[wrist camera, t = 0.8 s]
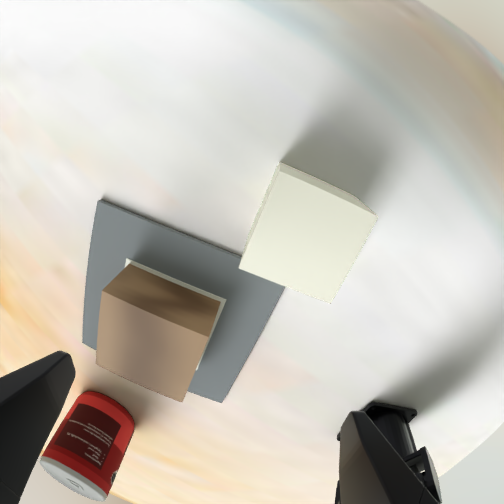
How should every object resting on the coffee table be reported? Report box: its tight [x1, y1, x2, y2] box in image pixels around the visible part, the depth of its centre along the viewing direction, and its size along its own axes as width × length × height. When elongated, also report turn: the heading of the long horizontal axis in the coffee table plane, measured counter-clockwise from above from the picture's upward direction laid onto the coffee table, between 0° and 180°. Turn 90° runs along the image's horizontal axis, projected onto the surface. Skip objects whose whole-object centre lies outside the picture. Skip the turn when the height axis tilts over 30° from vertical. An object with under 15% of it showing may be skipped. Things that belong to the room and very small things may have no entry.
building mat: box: [82, 200, 285, 403], centre depth 22 cm, size 14×14×1 cm
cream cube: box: [239, 162, 378, 304], centre depth 16 cm, size 5×5×5 cm
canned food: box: [40, 391, 134, 501], centre depth 24 cm, size 8×8×11 cm
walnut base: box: [96, 264, 221, 402], centre depth 20 cm, size 7×7×4 cm
